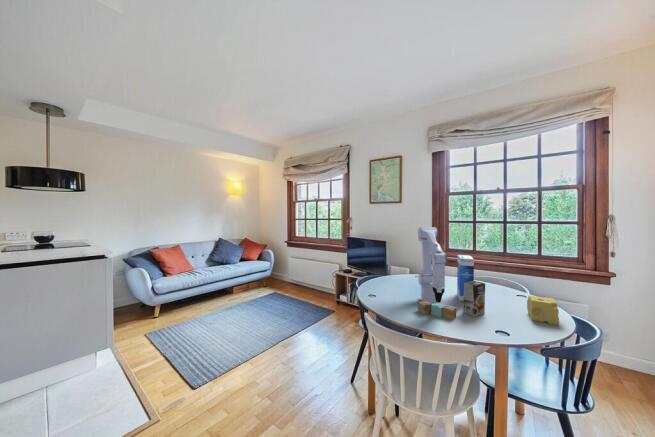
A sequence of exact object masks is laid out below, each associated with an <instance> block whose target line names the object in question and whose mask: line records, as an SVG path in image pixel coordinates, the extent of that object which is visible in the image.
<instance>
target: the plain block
mask: <svg viewBox="0 0 655 437" xmlns="http://www.w3.org/2000/svg"><path fill="white" fill-rule="evenodd" d="M445 305H446V304H441V303H438V302H433V304H432V305H431V314H430V315H431V316H434V317H437V318H443V317H442V314H443V307H444V306H445Z"/></svg>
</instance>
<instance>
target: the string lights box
mask: <svg viewBox="0 0 655 437" xmlns="http://www.w3.org/2000/svg"><path fill="white" fill-rule="evenodd" d="M456 264H457V275H456V277H457V282H456V283H457V285H456V286H457V287H456V288H457V290H456V292H457V293H456V296H457V297H458V301H459V302H463V300H464V283H465V282H470V281H475V280H474V279H475V274H474V272H475V259H474V258H473V256H471V255H468V254H467V255H465V254H463V255H462V254H457V263H456Z"/></svg>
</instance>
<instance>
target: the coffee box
mask: <svg viewBox="0 0 655 437" xmlns="http://www.w3.org/2000/svg"><path fill="white" fill-rule="evenodd" d="M462 302H463V303H462V306H463V307H462V313H464V314H466V315H469V316H472V317H478V316H481V315H484V314H486V313H485V312H486V310H485V308H486V307H485V306H486V283H485V282H481V281H476V280H474V281H470V282H465V283H464V300H463V301H462Z"/></svg>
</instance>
